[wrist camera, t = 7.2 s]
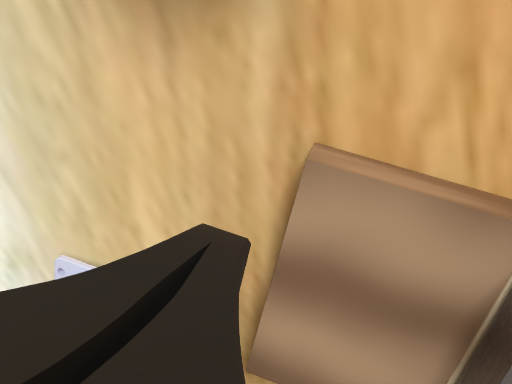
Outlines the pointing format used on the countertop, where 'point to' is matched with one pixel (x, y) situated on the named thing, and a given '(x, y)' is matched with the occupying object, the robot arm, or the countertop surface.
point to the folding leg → (493, 351)
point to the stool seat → (382, 276)
